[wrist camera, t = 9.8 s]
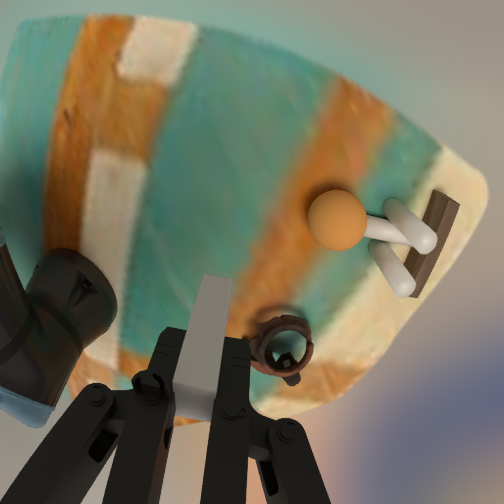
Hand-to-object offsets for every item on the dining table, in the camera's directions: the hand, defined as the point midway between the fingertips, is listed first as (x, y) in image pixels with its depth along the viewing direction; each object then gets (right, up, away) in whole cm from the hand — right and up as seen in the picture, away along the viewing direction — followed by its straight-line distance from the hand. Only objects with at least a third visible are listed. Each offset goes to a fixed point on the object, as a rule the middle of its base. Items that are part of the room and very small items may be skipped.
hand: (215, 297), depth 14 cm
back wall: (+23, +4, +16) cm, 28 cm away
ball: (+10, +5, +12) cm, 17 cm away
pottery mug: (+6, -10, +24) cm, 27 cm away
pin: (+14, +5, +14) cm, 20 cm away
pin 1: (+18, +7, +14) cm, 24 cm away
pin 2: (+17, +3, +17) cm, 24 cm away
